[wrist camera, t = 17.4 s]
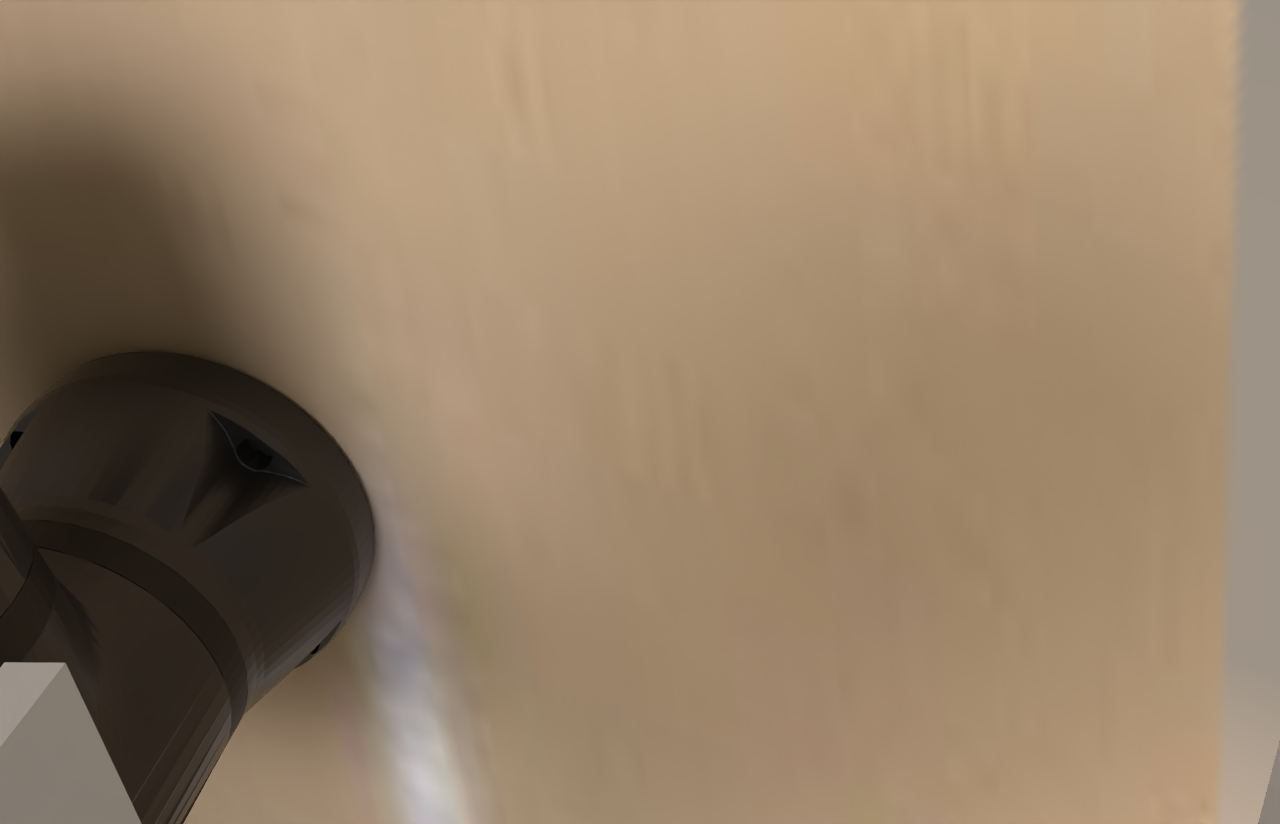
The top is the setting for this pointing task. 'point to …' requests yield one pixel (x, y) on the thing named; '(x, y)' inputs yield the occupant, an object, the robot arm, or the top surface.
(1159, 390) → the top surface
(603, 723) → the top surface
